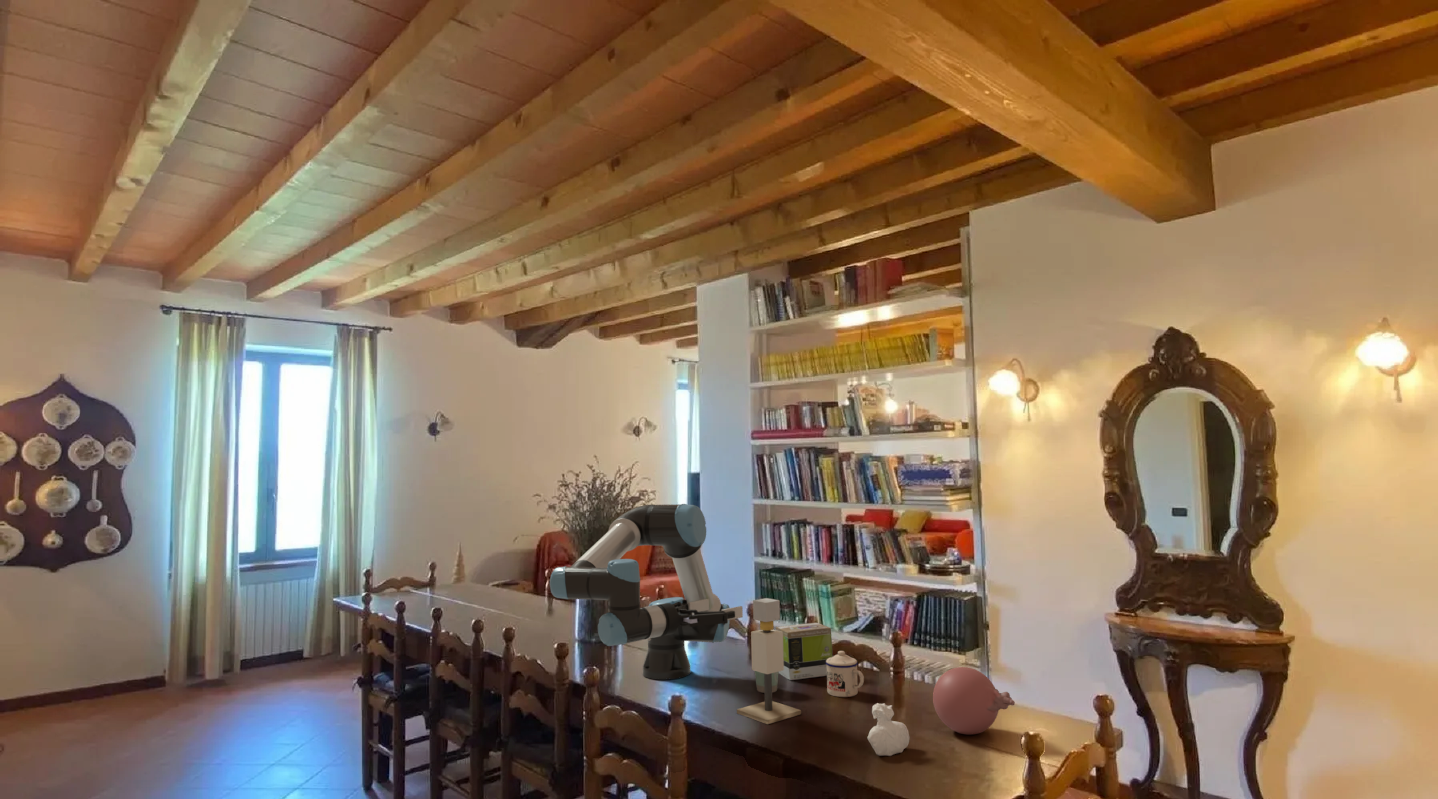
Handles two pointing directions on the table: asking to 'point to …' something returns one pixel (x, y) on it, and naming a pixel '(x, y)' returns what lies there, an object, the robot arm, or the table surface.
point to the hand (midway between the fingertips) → (724, 607)
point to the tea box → (805, 650)
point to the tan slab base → (768, 712)
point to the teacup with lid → (843, 675)
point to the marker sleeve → (767, 651)
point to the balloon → (968, 700)
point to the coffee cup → (760, 681)
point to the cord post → (766, 615)
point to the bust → (887, 732)
